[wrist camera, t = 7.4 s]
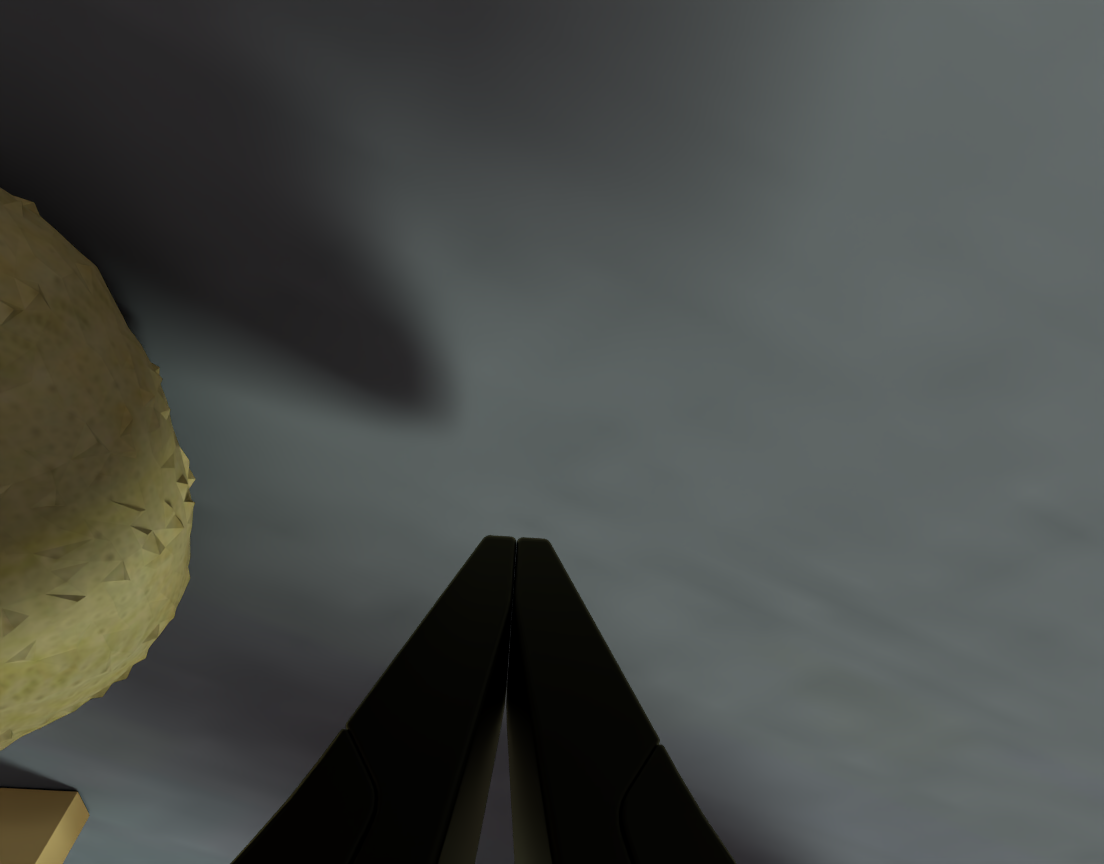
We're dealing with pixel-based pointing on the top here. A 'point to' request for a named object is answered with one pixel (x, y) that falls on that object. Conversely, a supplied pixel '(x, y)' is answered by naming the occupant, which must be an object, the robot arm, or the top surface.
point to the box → (39, 825)
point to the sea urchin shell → (78, 483)
